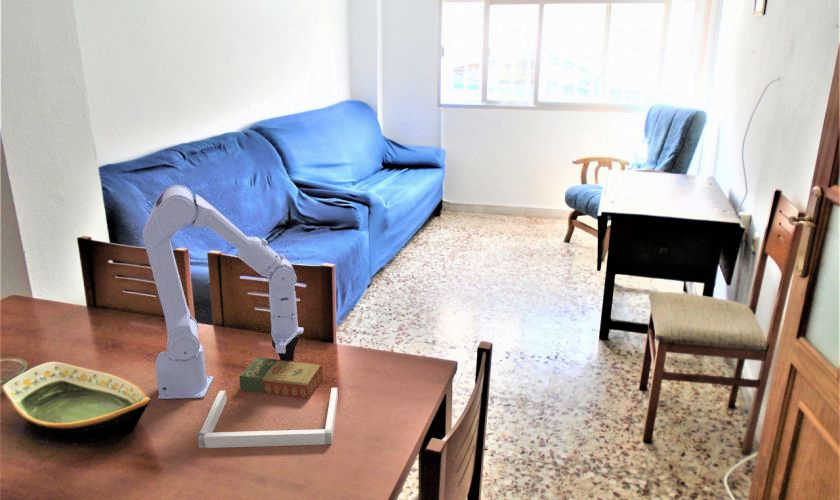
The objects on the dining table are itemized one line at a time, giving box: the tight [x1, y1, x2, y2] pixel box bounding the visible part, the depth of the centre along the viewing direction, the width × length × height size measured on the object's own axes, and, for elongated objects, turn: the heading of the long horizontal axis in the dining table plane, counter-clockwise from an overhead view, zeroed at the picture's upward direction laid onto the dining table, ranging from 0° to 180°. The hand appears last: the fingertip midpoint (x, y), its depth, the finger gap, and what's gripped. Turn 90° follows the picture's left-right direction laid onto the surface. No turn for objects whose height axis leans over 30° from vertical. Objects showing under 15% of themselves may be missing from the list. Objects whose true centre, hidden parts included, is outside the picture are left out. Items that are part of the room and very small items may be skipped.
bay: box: [197, 387, 339, 449], centre depth 116 cm, size 24×15×2 cm, turn 93°
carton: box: [238, 356, 324, 400], centre depth 128 cm, size 8×16×4 cm, turn 78°
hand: (287, 365), depth 134 cm, fingers closed
